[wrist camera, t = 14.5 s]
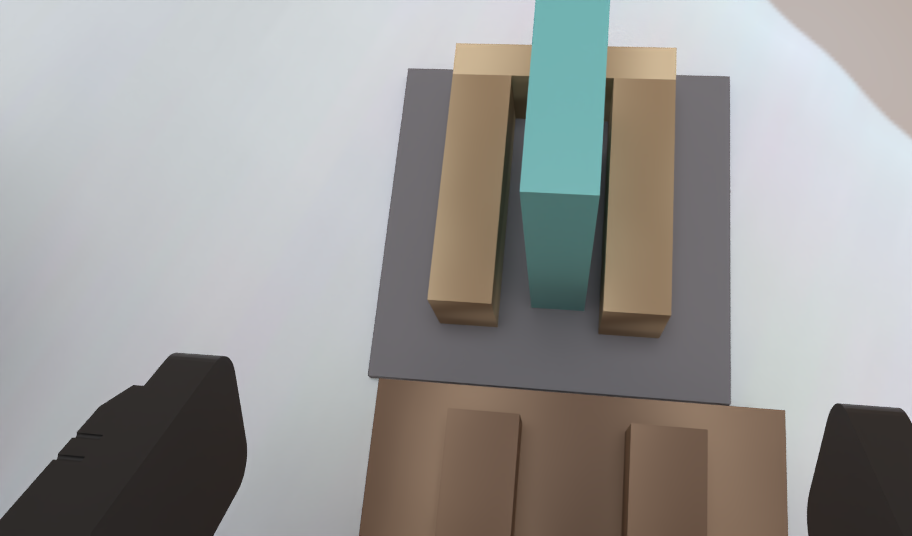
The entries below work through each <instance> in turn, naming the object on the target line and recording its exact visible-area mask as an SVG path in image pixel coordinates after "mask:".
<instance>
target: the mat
mask: <svg viewBox="0 0 912 536" xmlns="http://www.w3.org/2000/svg"><path fill="white" fill-rule="evenodd" d="M452 77H453V70H448V69H408V75H407V83H406V90H405V98H404V105H403V113H402V120H401V128H400V136H399V143H398V151H397V158H396V166H395V173H394V181H393V189H392V196H391V204H390V211H389V219H388V226H387V234H386V242H385V249H384V257H383V264H382V272H381V279H380V287H379V295H378V302H377V310H376V317H375V325H374V332H373V340H372V348H371V355H370V363H369V370H368V376H369V377H371V378H383V379H396V380H409V381H421V382H434V383H446V384H459V385H472V386H484V387H497V388H509V389H522V390H535V391H547V392H560V393H573V394H585V395H598V396H610V397H623V398H636V399H648V400H661V401H673V402H686V403H699V404H711V405H724V406H729V405H730V404H731V361H730V77H727V76H687V75H676V98H675V149H674V200H673V251H672V302H671V317H670V319H669V321H668V322H667V324H666V326H665V328H664V330H663V332H662V334H661V336H660V337H659V338H646V337H632V336H617V335H603V334H598V328H599V307H600V286H601V265H602V243H603V222H604V201H605V180H606V158H607V137H608V121H604V124H603V144H602V163H601V182H600V198H599V205H598V213H597V220H596V227H595V235H594V242H593V250H592V257H591V265H590V272H589V279H588V287H587V294H586V302H585V309H584V311H575V310H560V309H545V308H531V300H530V290H529V280H528V270H527V260H526V250H525V240H524V230H523V220H522V210H521V201H520V181H521V169H522V157H523V145H524V133H525V122H526V119H517V118H515V130H514V142H513V154H512V165H511V177H510V189H509V200H508V212H507V224H506V236H505V247H504V259H503V271H502V282H501V294H500V306H499V318H498V327H487V326H472V325H458V324H443V323H440V322H439V320H438V318H437V317H436V315H435V313H434V311H433V309H432V307H431V305H430V304H429V302H428V300H427V298H428V289H429V281H430V272H431V263H432V254H433V245H434V236H435V228H436V219H437V210H438V201H439V192H440V183H441V175H442V166H443V157H444V148H445V139H446V130H447V121H448V113H449V104H450V95H451V86H452Z"/></svg>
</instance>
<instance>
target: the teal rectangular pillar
mask: <svg viewBox="0 0 912 536" xmlns="http://www.w3.org/2000/svg"><path fill="white" fill-rule="evenodd" d="M609 9H610V0H536V2H535V14H534V26H533V38H532V50H531V62H530V74H529V86H528V98H527V110H526V122H525V133H524V145H523V157H522V169H521V181H520V201H521V210H522V220H523V230H524V240H525V250H526V260H527V270H528V280H529V290H530V300H531V308H545V309H560V310H575V311H584V309H585V302H586V294H587V287H588V279H589V272H590V265H591V257H592V250H593V242H594V235H595V227H596V220H597V213H598V205H599V198H600V182H601V163H602V144H603V124H604V105H605V86H606V66H607V47H608V28H609Z"/></svg>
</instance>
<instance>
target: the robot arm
mask: <svg viewBox="0 0 912 536" xmlns="http://www.w3.org/2000/svg"><path fill="white" fill-rule="evenodd" d="M246 460H247V443H246V436H245V430H244V424H243V418H242V412H241V405H240V399H239V393H238V387H237V381H236V375H235V370H234V366H233V363H232V361H231V360H230V359H229V358H228V357H226V356H213V355H200V354H186V353H173V354H171V355H170V356H169V357H168V358H167V359H166V360H165V361H164V362H163V364H162V365H161V366H160V367H159V368H158V370H157V371H156V372H155V373H154V374H153V376H152V377H151V378H150V379H149V380H148V382H147V383H146V384H145V385H144V386H137V385H133V386H131V387H130V388H128V389H126V390H125V391H123V392H122V393H120V394H119V395H117V396H115V397H114V398H112V399H111V400H109V401H108V402H106V403H104V404H103V405H101V406H100V407H99V408H98V409H97V410H96V411H95V412H94V413H93V415H92V416H91V417H90V418H89V419H88V420H87V421H86V423H85V424H84V425H83V426H82V427H81V428H80V429H79V431H78V432H77V436H76V438H72V439H71V440H70V441H69V442H68V443H67V444H66V445H65V447H64V448H63V449H62V450H61V451H60V452H59V453H58V458H57V460H52V461H51V462H50V464H49V465H48V466H47V467H46V468H45V469H44V470H43V472H42V473H41V474H40V475H39V476H38V477H37V478H36V480H35V481H34V482H33V483H32V484H31V485H30V486H29V488H28V489H27V490H26V491H25V492H24V493H23V494H22V495H21V497H20V498H19V499H18V500H17V501H16V502H15V503H14V505H13V506H12V507H11V508H10V509H9V510H8V511H7V513H6V514H5V515H4V516H3V517H2V518H1V519H0V536H213V535H214V533H215V531H216V530H217V528H218V526H219V524H220V522H221V520H222V519H223V517H224V515H225V513H226V511H227V509H228V508H229V506H230V504H231V502H232V500H233V499H234V497H235V495H236V493H237V491H238V489H239V487H240V485H241V482H242V479H243V476H244V472H245V467H246ZM807 526H808V535H809V536H912V423H911V421H910V419H909V417H908V416H907V414H906V413H905V412H904V411H903V410H902V409H900V408H891V407H878V406H864V405H851V404H835V405H834V406H833V407H832V409H831V411H830V413H829V416H828V419H827V423H826V427H825V431H824V435H823V439H822V443H821V448H820V452H819V456H818V460H817V464H816V468H815V472H814V476H813V480H812V484H811V488H810V492H809V497H808V506H807Z"/></svg>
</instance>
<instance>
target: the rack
mask: <svg viewBox="0 0 912 536" xmlns="http://www.w3.org/2000/svg"><path fill="white" fill-rule="evenodd" d="M531 50H532V45H510V44H461V43H456V51H455V60H454V68H453V77H452V86H451V95H450V104H449V113H448V121H447V130H446V139H445V148H444V157H443V166H442V175H441V183H440V192H439V201H438V210H437V219H436V228H435V236H434V245H433V254H432V263H431V272H430V281H429V289H428V298H427V300H428V302H429V304H430V305H431V307H432V309H433V311H434V313H435V315H436V317H437V318H438V320H439V322H440V323H443V324H458V325H472V326H487V327H498V318H499V306H500V294H501V282H502V271H503V259H504V247H505V236H506V224H507V212H508V200H509V189H510V177H511V165H512V154H513V142H514V130H515V118H517V119H526V110H527V98H528V86H529V74H530V62H531ZM675 98H676V48H656V47H607V66H606V86H605V105H604V121H608V137H607V158H606V180H605V201H604V222H603V243H602V265H601V286H600V307H599V328H598V334H603V335H617V336H632V337H646V338H659V337H660V336H661V334H662V332H663V330H664V328H665V326H666V324H667V322H668V321H669V319H670V317H671V302H672V251H673V200H674V149H675Z"/></svg>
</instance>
